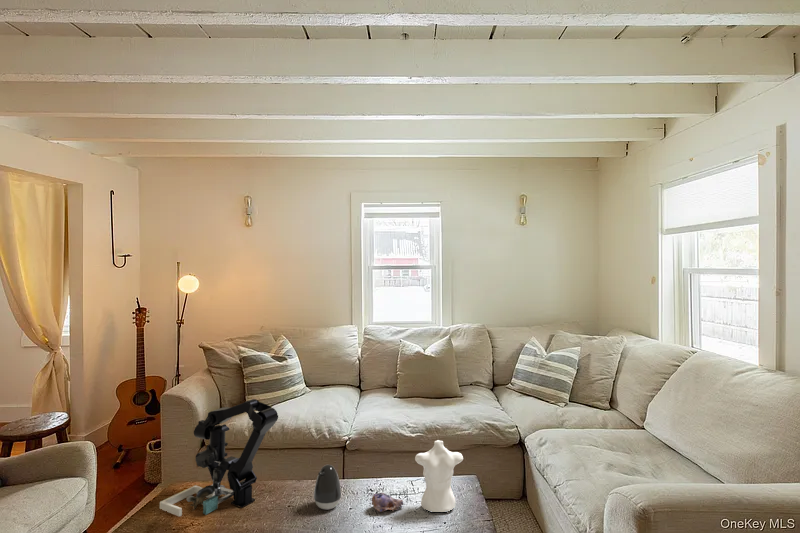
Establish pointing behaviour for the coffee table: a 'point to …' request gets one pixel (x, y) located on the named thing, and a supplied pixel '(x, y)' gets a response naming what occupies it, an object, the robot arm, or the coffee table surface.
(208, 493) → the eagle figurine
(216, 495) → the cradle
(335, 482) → the grey rounded egg shape
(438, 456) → the torso sculpture
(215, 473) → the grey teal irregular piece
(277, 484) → the coffee table surface
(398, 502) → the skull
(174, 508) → the frame
